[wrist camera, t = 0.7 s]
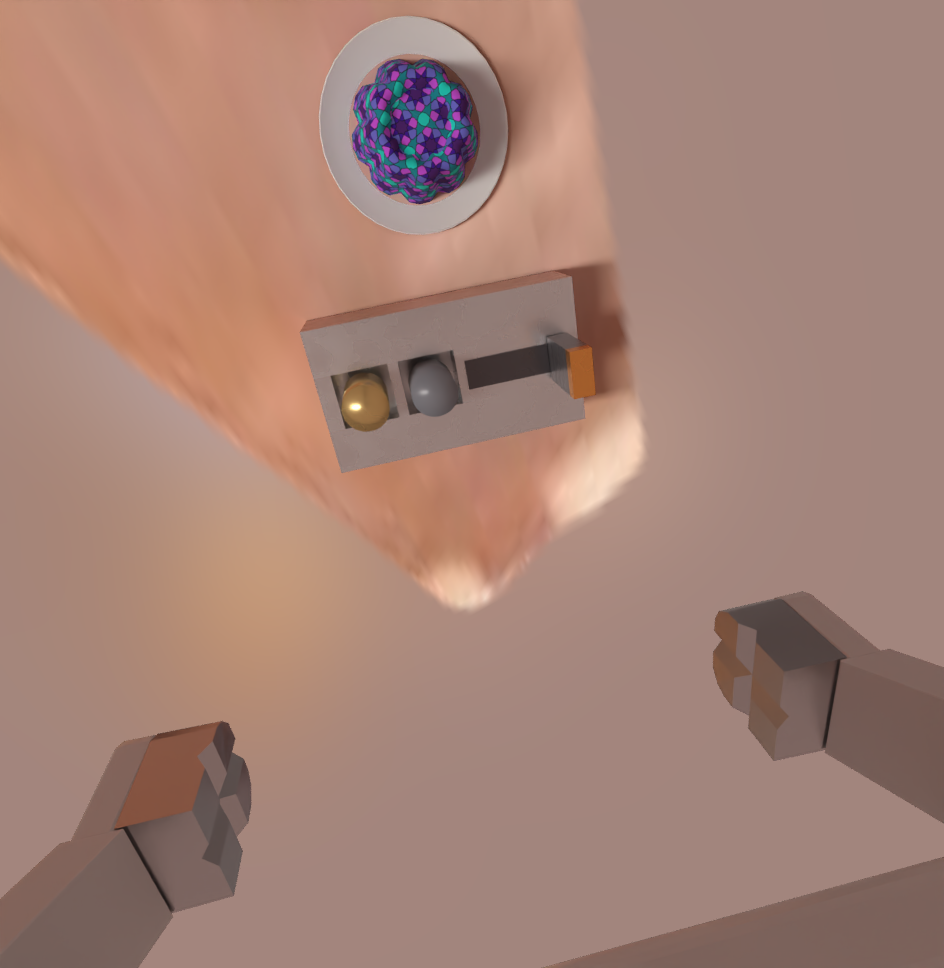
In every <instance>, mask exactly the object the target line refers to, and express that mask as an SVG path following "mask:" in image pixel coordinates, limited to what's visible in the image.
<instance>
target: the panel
mask: <svg viewBox="0 0 944 968" xmlns="http://www.w3.org/2000/svg"><path fill="white" fill-rule="evenodd" d="M562 333H568V334H570V335H572V336H573V337H575V338H577V339H578V336H577V325H576V314H575V304H574V293H573V282H572V276H569V275H565V274H562V273H559V272H555V271H548V272H544V273H539V274H534V275H529V276H524V277H519V278H514V279H509V280H504V281H499V282H495V283H490V284H485V285H480V286H475V287H470V288H465V289H460V290H455V291H451V292H446V293H441V294H436V295H431V296H426V297H421V298H416V299H411V300H406V301H402V302H397V303H392V304H387V305H382V306H377V307H372V308H367V309H362V310H357V311H353V312H348V313H343V314H338V315H333V316H328V317H323V318H318V319H313V320H308V321H306V322H305V324H304V326H303V328H302V329H301V331H300V335H301V338H302V341H303V345H304V348H305V351H306V355H307V358H308V362H309V365H310V368H311V372H312V375H313V378H314V382H315V385H316V388H317V392H318V395H319V398H320V402H321V405H322V409H323V412H324V415H325V419H326V422H327V425H328V429H329V432H330V435H331V439H332V442H333V445H334V449H335V452H336V456H337V459H338V462H339V466H340V469H341V472H342V473H344V472H348V471H353V470H357V469H362V468H366V467H371V466H375V465H380V464H384V463H388V462H393V461H397V460H402V459H406V458H411V457H415V456H420V455H424V454H429V453H433V452H438V451H442V450H447V449H451V448H456V447H460V446H464V445H469V444H473V443H478V442H482V441H487V440H491V439H496V438H500V437H505V436H509V435H514V434H518V433H523V432H527V431H532V430H536V429H540V428H545V427H549V426H554V425H558V424H563V423H567V422H572V421H576V420H581V419H585V410H584V400H583V398H578V399H573V398H572V397H571V396H570V395H569V394H567V393H566V392H565V391H564V390H563V389H562V388H561V387H560V386H559V385H557V384H556V383H555V382H554V381H553V380H552V378H551V369H550V361H549V352H548V344H547V337H548V336H553V335H557V334H562ZM425 359H436V360H439V361H441V362H442V363H444V364H445V365H446V366H447V368H448V369H449V371H450V373H451V375H452V377H453V378H454V380H455V382H456V384H457V387H458V400H457V403H456V405H455V406H454V408H453V409H452V410H451V411H450V412H448V413H447V414H445V415H442V416H438V417H431V416H427V415H425V414H423V413H421V412H420V411H419V410H418V409H417V408H416V407H415V405H414V403H413V400H412V396H411V392H410V388H409V383H408V377H409V373H410V371H411V369H412V368H413V366H414V365H415V364H417V363H418V362H420V361H422V360H425ZM359 373H372V374H374V375H376V376H378V377H379V378H381V379H382V380H383V382H384V383H385V385H386V387H387V390H388V398H389V406H390V412H389V416H388V419H387V421H386V422H385V423H384V425H383V426H381V427H380V428H378V429H376V430H374V431H369V432H363V431H358V430H356V429H354V428H352V427H351V426H350V425H348V423H347V422H346V421H345V419H344V417H343V415H342V400H343V392H344V387H345V385H346V383H347V381H348V380H349V379H350V378H351V377H352V376H354V375H356V374H359Z"/></svg>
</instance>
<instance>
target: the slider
mask: <svg viewBox="0 0 944 968" xmlns="http://www.w3.org/2000/svg"><path fill="white" fill-rule="evenodd" d="M547 344H548V352H549V361H550V369H551V378H552V380H553V381H554V382H555V383H556V384H557V385H559V386H560V387H561V388H562V389H563V390H564V391H565V392H566V393H567V394H569V395H570V396H571V397H572V398H573V399H578V398H583V397H588V396H592V395H596V392H595V381H594V369H593V357H592V347H590V346H589V345H587V344H585V343H583V342H582V341H580V340H578V339H577V338H575V337H573V336H572V335H570V334H568V333H562V334H557V335H553V336H548V337H547Z"/></svg>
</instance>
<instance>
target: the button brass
mask: <svg viewBox="0 0 944 968" xmlns="http://www.w3.org/2000/svg"><path fill="white" fill-rule="evenodd" d="M389 412H390V406H389V398H388V390H387V387H386V385H385V383H384V382H383V380H382V379H381V378H379V377H378V376H376V375H374V374H372V373H359V374H356V375H354V376H352V377H351V378H350V379H349V380H348V381H347V383H346V385H345V387H344V392H343V400H342V415H343V417H344V419H345V421H346V422H347V423H348V425H350V426H351V427H352V428H354V429H356V430H358V431H363V432H369V431H374V430H376V429H378V428H380V427H381V426H383V425H384V423H385V422H386V421H387V419H388V416H389Z"/></svg>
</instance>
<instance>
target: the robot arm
mask: <svg viewBox="0 0 944 968" xmlns="http://www.w3.org/2000/svg"><path fill="white" fill-rule="evenodd" d="M714 631H715V632H716V634H717V635H718V636H719V637H720V638H721V639H722V640H721V642H720V643H719V644H718V646H717V647H716V649H715V650H714V651H713V669H714V673H715V676H716V680H717V684H718V686H719V687H720V689H721V691H722V693H723V695H724V697H725V698H726V699H727V701H728V702H729V703H730V705H731V706H732V707H733V708H735V709H737V710H739V711H741V712H743V713H745V714H747V715H749V725H748V728H749V730H750V731H751V732H752V734H753V735H754V736H755V737H756V739H757V740H758V741H759V743H760V744H761V745H762V746H763V748H764V749H765V750H766V752H767V753H768V754H769V756H770V757H771V758H772V759H773V760H774V761H776V760H781V759H785V758H789V757H794V756H799V755H804V754H808V753H813V752H817V751H822V750H825V753H826V754H828V755H830V756H831V757H833V758H835V759H837V760H838V761H840V762H842V763H843V764H845V765H846V766H848V767H850V768H851V769H853V770H855V771H857V772H858V773H860V774H862V775H863V776H865V777H867V778H869V779H870V780H872V781H873V782H875V783H877V784H878V785H880V786H882V787H884V788H885V789H887V790H889V791H890V792H892V793H893V794H895V795H897V796H898V797H900V798H902V799H904V800H905V801H907V802H909V803H910V804H912V805H914V806H915V807H917V808H919V809H920V810H922V811H924V812H926V813H927V814H929V815H931V816H932V817H934V818H935V819H937V820H939V821H941V822H942V823H944V667H941V666H938V665H935V664H932V663H930V662H927V661H924V660H921V659H918V658H915V657H912V656H909V655H906V654H903V653H900V652H897V651H894V650H891V649H887V650H882V651H880V650H879V649H877V648H876V647H875V646H874V645H873V644H871V643H870V642H869V641H868V640H867V639H865V638H864V637H863V636H862V635H860V634H859V633H858V632H857V631H856V630H854V629H853V628H852V627H850V626H849V625H848V624H847V623H846V622H845V621H843V620H842V619H841V618H840V617H838V616H837V615H836V614H835V613H834V612H832V611H831V610H830V609H829V608H827V607H826V606H825V605H824V604H822V603H821V602H820V601H819V600H818V599H816V598H815V597H814V596H813V595H811V594H809V593H806V592H803V591H802V592H798V593H793V594H789V595H785V596H781V597H777V598H774V599H771V600H766V601H761V602H758V603H753V604H748V605H744V606H740V607H735V608H731V609H727V610H723V611H719V612H718V614H717V616H716V618H715V628H714ZM234 741H235V737H234V734H233V732H232V730H231V728H230V726H229V724H228V723H226V722H223V721H220V722H215V723H210V724H205V725H201V726H195V727H190V728H185V729H180V730H175V731H170V732H165V733H160V734H157V735H153V736H148V737H143V738H138V739H133V740H128V741H124V742H123V743H121V744H120V745H119V746H118V747H117V748H116V749H115V750H114V753H113V754H112V757H111V759H110V761H109V763H108V765H107V767H106V769H105V771H104V773H103V775H102V777H101V779H100V782H99V784H98V786H97V788H96V790H95V792H94V794H93V796H92V798H91V800H90V802H89V804H88V807H87V809H86V811H85V813H84V815H83V817H82V819H81V821H80V823H79V825H78V827H77V829H76V831H75V833H74V836H73V838H72V840H71V841H68V842H65V843H61V844H59V845H58V846H57V847H56V848H54V849H53V850H52V851H51V852H50V853H49V854H48V855H47V856H46V857H45V858H44V859H43V860H42V861H40V862H39V863H38V864H37V865H36V866H35V867H34V868H33V869H32V870H31V871H30V872H29V873H28V874H27V875H25V876H24V877H23V878H22V879H21V880H20V881H19V882H18V883H17V884H16V885H15V886H14V887H13V888H11V889H10V890H9V891H8V892H7V893H6V894H5V895H4V896H3V897H2V898H1V899H0V968H138V967H139V966H140V964H141V963H142V961H143V960H144V958H145V957H146V956H147V954H148V953H149V951H150V950H151V948H152V947H153V945H154V944H155V942H156V941H157V939H158V938H159V936H160V935H161V934H162V932H163V931H164V929H165V928H166V926H167V925H168V924H169V922H170V921H171V919H172V918H173V915H172V913H174V912H178V911H182V910H185V909H188V908H192V907H196V906H199V905H203V904H207V903H210V902H214V901H217V900H221V899H224V898H228V897H232V896H234V892H235V887H236V882H237V877H238V872H239V867H240V862H241V857H242V852H243V851H242V848H241V846H240V844H239V841H238V839H237V836H238V835H239V833H240V832H241V831H242V830H243V829H244V827H245V826H246V825H247V824H248V821H249V815H250V809H251V782H250V777H249V772H248V768H247V766H246V763H245V761H244V759H243V758H241V757H240V756H238V755H236V754H234V753H232V750H233V746H234ZM543 968H944V857H942V858H938V859H934V860H931V861H927V862H923V863H920V864H916V865H912V866H909V867H906V868H902V869H898V870H894V871H891V872H887V873H884V874H880V875H877V876H872V877H869V878H865V879H862V880H858V881H854V882H851V883H847V884H844V885H840V886H836V887H833V888H829V889H825V890H822V891H818V892H815V893H811V894H807V895H804V896H800V897H797V898H793V899H789V900H786V901H782V902H778V903H775V904H771V905H768V906H764V907H760V908H756V909H753V910H750V911H746V912H742V913H739V914H735V915H731V916H728V917H724V918H720V919H717V920H713V921H709V922H706V923H702V924H699V925H695V926H692V927H688V928H684V929H680V930H677V931H674V932H670V933H666V934H662V935H659V936H655V937H651V938H648V939H644V940H640V941H637V942H633V943H630V944H626V945H622V946H619V947H615V948H612V949H608V950H604V951H600V952H597V953H594V954H590V955H586V956H582V957H579V958H575V959H572V960H568V961H564V962H561V963H557V964H554V965H550V966H546V967H543Z"/></svg>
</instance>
